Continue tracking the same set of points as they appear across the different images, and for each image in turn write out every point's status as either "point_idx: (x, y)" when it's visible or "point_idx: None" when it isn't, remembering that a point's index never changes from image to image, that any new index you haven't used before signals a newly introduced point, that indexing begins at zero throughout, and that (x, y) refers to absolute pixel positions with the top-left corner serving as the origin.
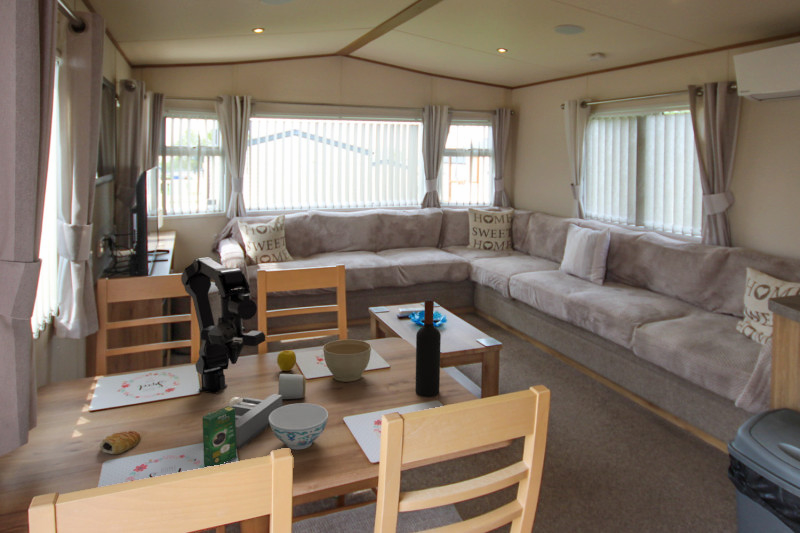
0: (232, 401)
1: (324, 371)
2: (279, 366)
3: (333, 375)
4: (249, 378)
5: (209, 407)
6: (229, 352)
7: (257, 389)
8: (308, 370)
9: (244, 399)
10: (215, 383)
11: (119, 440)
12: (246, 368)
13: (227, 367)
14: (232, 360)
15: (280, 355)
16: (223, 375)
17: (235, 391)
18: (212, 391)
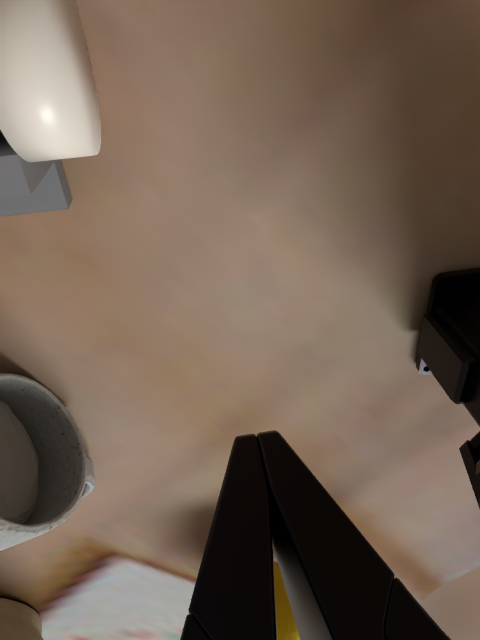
0: (10, 7)
1: (107, 611)
2: (275, 572)
3: (5, 613)
4: (359, 464)
5: (359, 88)
6: (341, 629)
7: (241, 408)
8: (172, 594)
9: (3, 154)
10: (472, 325)
11: None
12: (428, 512)
13: (464, 455)
14: (258, 477)
15: (277, 635)
16: (456, 394)
17: (337, 344)
18: (459, 277)
